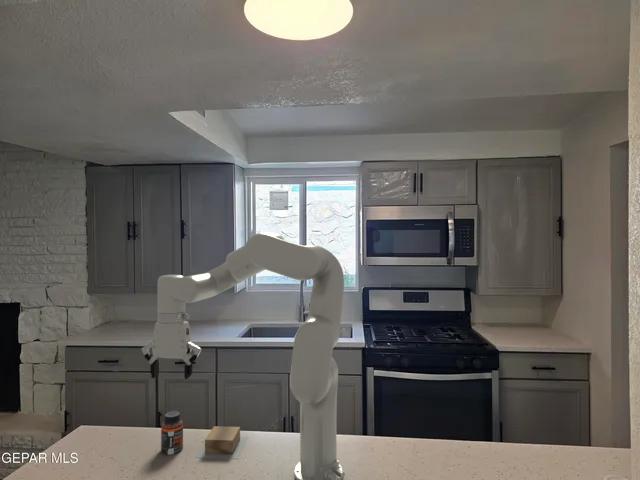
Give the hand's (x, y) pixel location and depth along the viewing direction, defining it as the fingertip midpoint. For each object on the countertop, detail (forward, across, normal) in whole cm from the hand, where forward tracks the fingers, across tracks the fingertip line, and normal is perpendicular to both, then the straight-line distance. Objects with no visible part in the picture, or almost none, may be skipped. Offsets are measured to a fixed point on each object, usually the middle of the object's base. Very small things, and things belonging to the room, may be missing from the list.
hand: (171, 376), depth 114 cm
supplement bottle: (+22, 0, 0) cm, 22 cm away
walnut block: (+21, -14, -2) cm, 26 cm away
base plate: (+22, -14, -2) cm, 26 cm away
